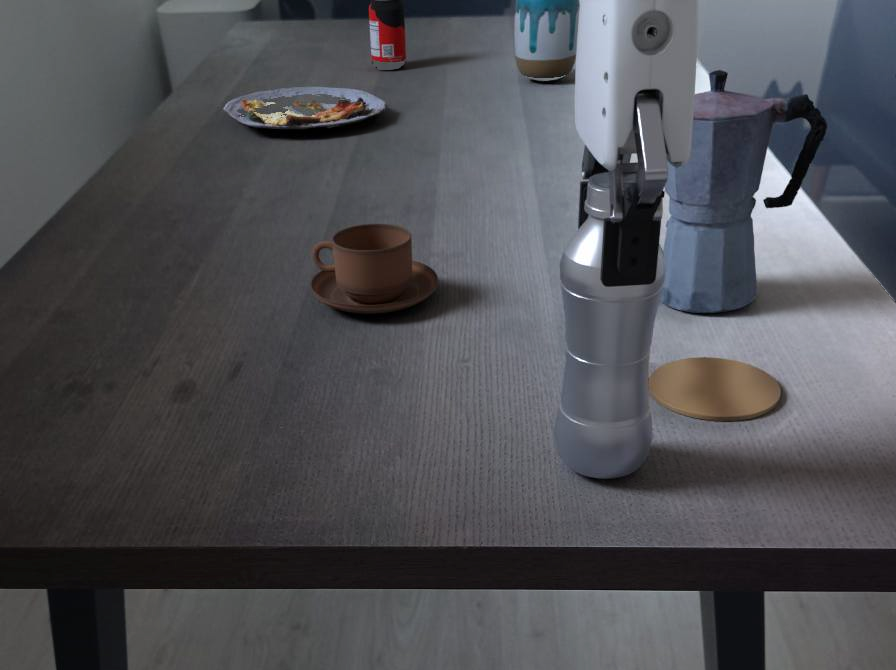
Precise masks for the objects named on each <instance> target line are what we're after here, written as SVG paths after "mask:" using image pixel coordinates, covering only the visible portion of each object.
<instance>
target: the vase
mask: <svg viewBox="0 0 896 670" xmlns="http://www.w3.org/2000/svg"><path fill="white" fill-rule="evenodd" d="M514 7H515V8H514V31H513V32H514V55H515V56H514V57H515V63H516V67H517V69H518V71H519V73H520V74H521V75H522V76H523V75H524V76H527V77H533V78H554V77H561V76H564V75H567V74H568V75H569V74H570V73H571V72H572V70H573V68H574V66H575V64H576V53H577V37H578V23H579V10H580V3H579V0H515V6H514ZM568 75H567V76H568ZM524 76H523V77H524ZM553 81H555V80H553ZM553 81H552V82H553ZM541 82H543V83H544V82H545V83H546V82H548V81H541Z"/></svg>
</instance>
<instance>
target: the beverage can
mask: <svg viewBox="0 0 896 670" xmlns="http://www.w3.org/2000/svg"><path fill="white" fill-rule="evenodd" d="M368 19H369V21H368V22H369V36H370V38H369V39H370V57H371V61H372V60H375V61H380V62H400V61H404V60H405V59H406V60H407V50H406V49H407V48H406V47H407V46H406V23H405V21H406V20H405V19H406V18H405V6H404V3H403V2H402V1H401V0H371V2H370V4H369V6H368Z"/></svg>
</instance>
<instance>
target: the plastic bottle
mask: <svg viewBox="0 0 896 670" xmlns="http://www.w3.org/2000/svg"><path fill="white" fill-rule="evenodd" d="M588 181H589V182H588V188H587V199H586V200H585V206H584V210H585V212H586V213H588V214H589V216H588V219H587V220H586V221H585V222H584V223H583V225H582V226H581V227H580V228H579V229H578V228H577V230H576V231H575V232H574V234H573V236H572V237H571V238H570V239H569V241H568V242H567V244H566V245H565V247H564V248H563V251H562V255H561V257H560V260H559V279H560V288H561V295H562V304H563V312H564V321H565V322H564V324H565V326H564V327H565V328H564V329H565V343H566V344H565V364H564V372H563V379H562V380H563V381H562V389H561V395H560V400H559V403H558V406H557V410H556V415H555V421H554V426H553V438H554V443H555V450H556V454H557V455H558V456H559V458H560V459H561V461H563V463H564V464H565V466H566V467H568V469H570V470H571V471H573V472H575V473H577V474H579V475H582V476H585V477H589V478H593V479H594V478H595V479H605V480H606V479H616V478H617V479H618V478H622V477H626V476H629V475H631V474H632V473H634V472H636V471H637V470H638V469H639V468H640V467H641V466H642V465H643V464H644V463H645V461H646V460H647V459H648V455H649V452H650V449H651V445H652V442H653V439H654V436H653V435H654V434H653V420H652V419H653V418H652V413H651V408H650V391H649V378H650V374H649V372H650V369H649V367H650V366H649V363H650V356H651V346H652V341H653V336H654V328H655V321H656V318H657V314H658V308H659V305H660V302H661V301H660V297H661V293H662V289H663V284H664V281H665V274H666V268H667V267H666V262H665V258H664V253H663V248H662V246H661V244H660V243H659V250H658V261H657V272H656V280H655V281H654V282H653V283H652V284H649V285H633V286H616V287H606V286H604V285H603V284H602V282H601V280H600V274H601V258H602V242H603V226H604V218H610V196H609V172H605V173H599V174H596V175H593V176H591V177H590V178H589V180H588ZM631 182H636V176H625V177H623V196H624V194H625V192H626V188H627V187H628V185H629V183H631Z"/></svg>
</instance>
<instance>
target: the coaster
mask: <svg viewBox="0 0 896 670" xmlns="http://www.w3.org/2000/svg"><path fill="white" fill-rule="evenodd" d="M649 395H651V397H652V398H653V399H654V400H655V401H656V403H658V404H660V406H662V407H664V408H666V409H668V410H670V411H672V412H674V413H677V414H679V415H681V416H682V415H683V416H686V417H689V418H693V419H694V418H695V419H699V420H704V421H714V422H733V421H734V422H735V421H744V420H750V419H754V418H757V417H760V416H764V415H765V414H767V413H769V412H771V411H772V410H774V409H775V408H776V407H777V406H778V404H779V402H780V401H781V395H782V389H781V386H780V384H779V382H778V381H777V380H776V378H774V377H773V376H772V375H771V374H769V373H768V372H766V371H765V370H763V369H760V368H759V367H757V366H754V365H752V364H750V363H749V364H748V363H746V362H742V361H738V360H733V359H729V358H720V357H703V356H702V357H701V356H700V357H687V358H682V359H677V360H673V361H670V362H667V363H664V364H662V365H661V366H659V367H657V368H656V369H654V370H653V371H652V373H651V374H650V375H649Z"/></svg>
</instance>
